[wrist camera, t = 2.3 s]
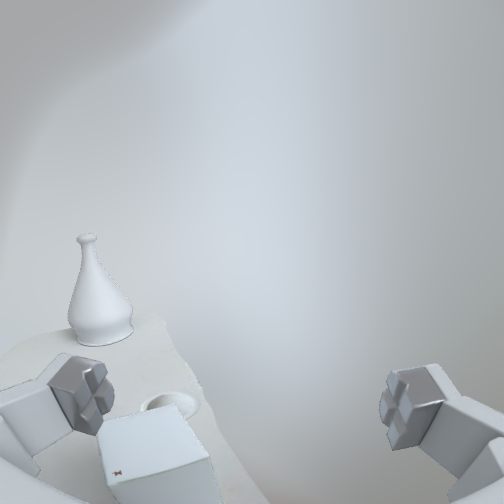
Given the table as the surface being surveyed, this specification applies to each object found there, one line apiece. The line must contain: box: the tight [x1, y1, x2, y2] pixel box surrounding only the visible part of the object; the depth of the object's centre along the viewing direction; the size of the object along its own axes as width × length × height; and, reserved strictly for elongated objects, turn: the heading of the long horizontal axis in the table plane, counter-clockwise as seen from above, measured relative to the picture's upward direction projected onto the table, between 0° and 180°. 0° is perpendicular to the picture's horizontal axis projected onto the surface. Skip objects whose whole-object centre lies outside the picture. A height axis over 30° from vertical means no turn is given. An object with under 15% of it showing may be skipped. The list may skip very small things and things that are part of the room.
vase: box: [68, 233, 134, 346], centre depth 64 cm, size 17×17×25 cm
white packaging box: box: [96, 404, 224, 504], centre depth 17 cm, size 7×7×13 cm
